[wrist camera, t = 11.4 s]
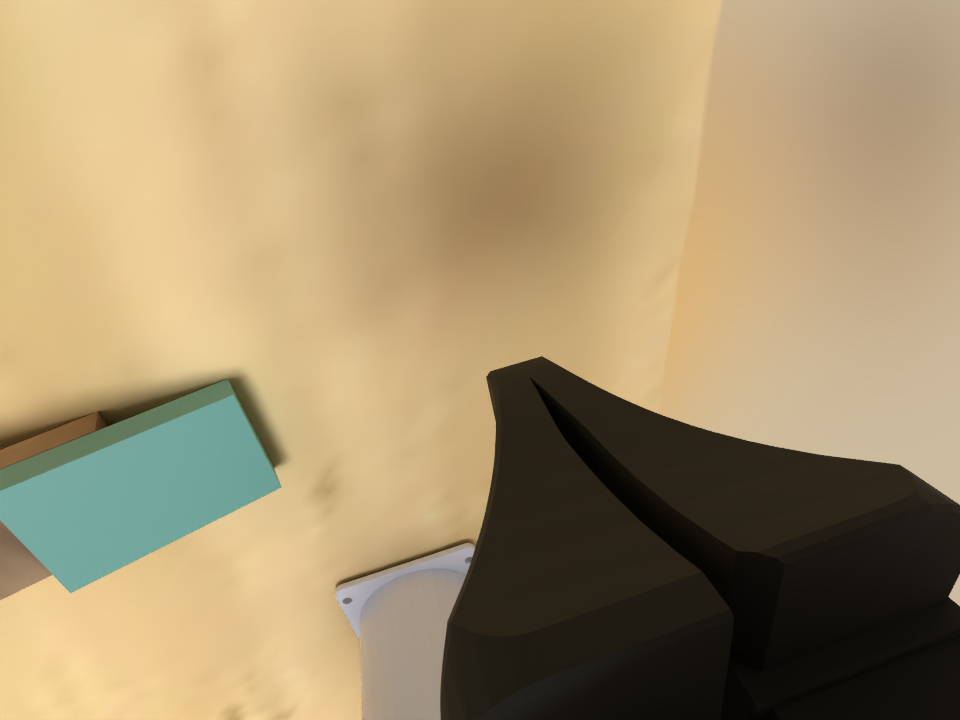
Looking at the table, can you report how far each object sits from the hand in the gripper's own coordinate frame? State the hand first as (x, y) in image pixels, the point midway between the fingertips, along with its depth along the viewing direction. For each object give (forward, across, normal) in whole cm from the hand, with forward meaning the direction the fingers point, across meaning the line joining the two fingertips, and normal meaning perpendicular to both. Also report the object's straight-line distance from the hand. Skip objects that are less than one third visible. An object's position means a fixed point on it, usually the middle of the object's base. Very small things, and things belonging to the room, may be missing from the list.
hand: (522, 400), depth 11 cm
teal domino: (+10, +10, +5) cm, 15 cm away
